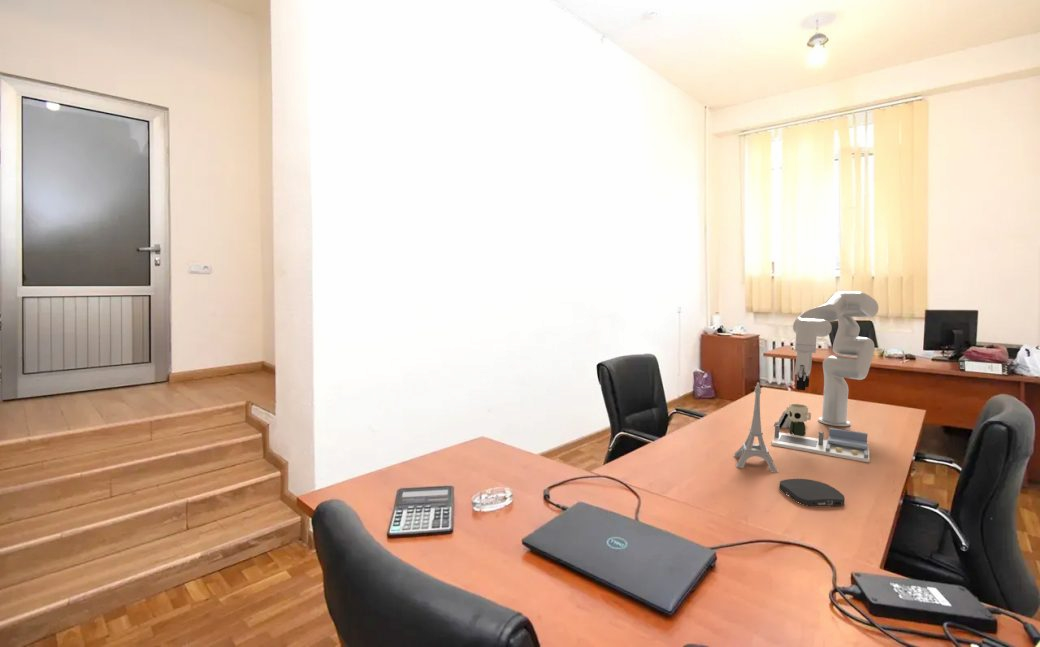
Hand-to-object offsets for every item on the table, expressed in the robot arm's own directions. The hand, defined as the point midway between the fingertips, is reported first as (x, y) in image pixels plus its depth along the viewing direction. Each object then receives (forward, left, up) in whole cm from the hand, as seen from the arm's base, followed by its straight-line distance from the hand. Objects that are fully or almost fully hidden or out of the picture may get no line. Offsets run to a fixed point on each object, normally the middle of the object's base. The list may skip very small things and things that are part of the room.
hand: (802, 388), depth 203 cm
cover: (+9, +17, -18) cm, 26 cm away
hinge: (-16, -5, -21) cm, 27 cm away
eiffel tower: (+45, -10, -21) cm, 51 cm away
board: (+12, +8, -21) cm, 25 cm away
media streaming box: (+64, +9, -21) cm, 68 cm away
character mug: (0, -1, -21) cm, 21 cm away
